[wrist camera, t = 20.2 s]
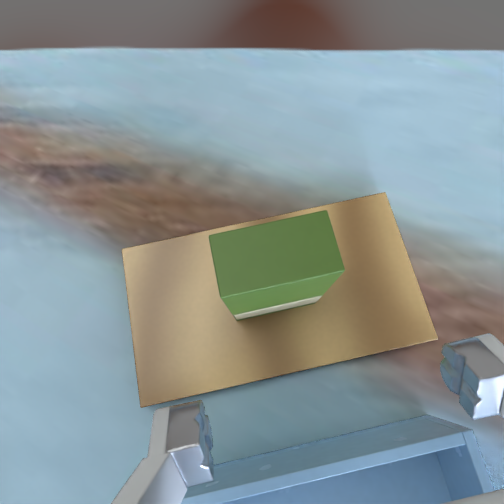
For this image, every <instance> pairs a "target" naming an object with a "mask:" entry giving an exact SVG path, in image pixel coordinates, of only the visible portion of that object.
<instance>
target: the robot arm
mask: <svg viewBox="0 0 504 504" xmlns="http://www.w3.org/2000/svg"><path fill="white" fill-rule="evenodd" d="M441 353H442V354H443V355H444V356H445V358H444V359H443V360H442V361H441V363H440V371H441V375H442V378H443V380H444V382H445V384H446V385H447V387H448V388H449V389H450V391H452V392H454V393H456V394H458V395H460V397H459V403H460V404H461V405H462V407H463V408H464V409H465V410H466V412H467V413H468V414H469V416H470V417H471V418H472V419H473V420H475V419H480V418H485V417H490V416H494V415H499V414H500V417H502V418H504V345H503V344H502V343H501V342H500V341H499V340H498V339H497V338H496V337H495V336H493V335H491V334H484V335H480V336H476V337H470V338H466V339H462V340H458V341H454V342H450V343H446V344H444V345H443V346H442V352H441ZM212 447H213V438H212V430H211V425H210V421H209V418H208V416H207V415H205V407H204V404H203V402H202V400H198V401H193V402H188V403H183V404H179V405H174V406H169V407H165V408H160V409H156V410H155V412H154V414H153V421H152V428H151V435H150V442H149V450H148V457H147V458H143V459H142V461H141V462H140V463H139V465H138V466H137V468H136V469H135V470H134V472H133V473H132V475H131V476H130V477H129V479H128V480H127V482H126V483H125V484H124V486H123V487H122V489H121V490H120V491H119V493H118V494H117V496H116V497H115V498H114V500H113V501H112V503H111V504H181V502H182V500H183V498H184V496H185V493H186V491H187V488H188V487H192V486H195V485H199V484H203V483H207V482H210V481H214V472H213V458H212V455H211V452H210V450H211V448H212ZM442 504H504V489H500V490H496V491H492V492H488V493H484V494H480V495H475V496H471V497H467V498H463V499H459V500H454V501H450V502H446V503H442Z"/></svg>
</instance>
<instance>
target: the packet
mask: <svg viewBox="0 0 504 504" xmlns="http://www.w3.org/2000/svg"><path fill="white" fill-rule="evenodd" d="M209 243H210V248H211V253H212V258H213V263H214V269H215V274H216V279H217V284H218V289H219V295H220V298H221V299H222V301H223V302H224V303H225V305H226V306H227V308H228V309H229V311H230V312H231V314H232V315H233V316H234V318H235V319H236V321H240V320H244V319H249V318H253V317H257V316H262V315H266V314H271V313H275V312H280V311H284V310H289V309H293V308H298V307H302V306H307V305H311V304H315V303H316V302H317V301H318V300H319V299H320V298H321V297H322V296H323V294H324V293H325V292H326V291H327V290H328V289H329V288H330V287H331V286H332V284H333V283H334V282H335V281H336V280H337V279H338V278H339V277H340V276H341V275H342V273H343V272H344V271H345V268H344V264H343V261H342V258H341V254H340V251H339V248H338V244H337V241H336V238H335V234H334V231H333V228H332V225H331V221H330V218H329V215H328V211H327V210H323V211H319V212H314V213H309V214H305V215H300V216H295V217H291V218H286V219H281V220H277V221H272V222H267V223H263V224H258V225H253V226H249V227H244V228H239V229H235V230H230V231H226V232H221V233H216V234H212V235H209Z"/></svg>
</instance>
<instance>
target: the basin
mask: <svg viewBox="0 0 504 504" xmlns="http://www.w3.org/2000/svg"><path fill="white" fill-rule="evenodd" d="M213 472H214V481H210V482H207V483H203V484H199V485H195V486H192V487H188V488H187V491H186V493H185V496H184V498H183V500H182V502H181V504H442V503H446V502H450V501H454V500H459V499H463V498H467V497H471V496H475V495H480V494H484V493H488V492H492V491H495V490H494V488H493V485H492V482H491V479H490V477H489V474H488V471H487V468H486V465H485V463H484V460H483V457H482V454H481V452H480V449H479V446H478V443H477V441H476V438H475V435H474V432H473V430H472V429H469V428H466V427H463V426H460V425H457V424H454V423H451V422H448V421H445V420H442V419H439V418H436V417H433V416H430V415H424V416H420V417H416V418H412V419H407V420H403V421H399V422H395V423H391V424H386V425H382V426H378V427H374V428H369V429H365V430H361V431H357V432H353V433H348V434H344V435H340V436H336V437H332V438H327V439H323V440H319V441H315V442H310V443H306V444H302V445H298V446H294V447H289V448H285V449H281V450H277V451H272V452H268V453H264V454H260V455H256V456H251V457H247V458H243V459H239V460H235V461H230V462H226V463H222V464H218V465H213Z"/></svg>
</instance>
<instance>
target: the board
mask: <svg viewBox="0 0 504 504" xmlns="http://www.w3.org/2000/svg"><path fill="white" fill-rule="evenodd" d="M323 210H327V211H328V215H329V218H330V221H331V225H332V228H333V231H334V234H335V238H336V241H337V244H338V248H339V251H340V254H341V258H342V261H343V264H344V268H345V271H344V272H343V273H342V275H341V276H340V277H339V278H338V279H337V280H336V281H335V282H334V283H333V284H332V286H331V287H330V288H329V289H328V290H327V291H326V292H325V293H324V294H323V296H322V297H321V298H320V299H319V300H318V301H317V302H316V303H315V304H311V305H307V306H302V307H298V308H293V309H289V310H284V311H280V312H275V313H271V314H266V315H262V316H257V317H253V318H249V319H244V320H240V321H236V319H235V318H234V316H233V315H232V314H231V312H230V311H229V309H228V308H227V306H226V305H225V303H224V302H223V301H222V299H221V298H220V295H219V289H218V284H217V279H216V274H215V269H214V263H213V258H212V253H211V248H210V243H209V235H212V234H216V233H221V232H226V231H230V230H235V229H239V228H244V227H249V226H253V225H258V224H263V223H267V222H272V221H277V220H281V219H286V218H291V217H295V216H300V215H305V214H309V213H314V212H319V211H323ZM122 255H123V264H124V272H125V281H126V289H127V297H128V306H129V314H130V323H131V331H132V340H133V348H134V356H135V365H136V373H137V382H138V390H139V399H140V407H141V408H142V407H146V406H151V405H155V404H159V403H164V402H168V401H172V400H177V399H181V398H186V397H190V396H194V395H199V394H203V393H207V392H212V391H216V390H220V389H225V388H229V387H233V386H238V385H242V384H246V383H251V382H255V381H259V380H264V379H268V378H272V377H277V376H281V375H285V374H290V373H294V372H298V371H303V370H307V369H311V368H316V367H320V366H324V365H329V364H333V363H337V362H342V361H346V360H350V359H355V358H359V357H363V356H368V355H372V354H376V353H381V352H385V351H389V350H394V349H398V348H402V347H407V346H411V345H416V344H420V343H424V342H429V341H433V340H437V339H438V337H437V334H436V332H435V329H434V326H433V323H432V321H431V318H430V315H429V312H428V309H427V307H426V304H425V301H424V298H423V296H422V293H421V290H420V287H419V284H418V282H417V279H416V276H415V273H414V271H413V268H412V265H411V262H410V259H409V257H408V254H407V251H406V248H405V246H404V243H403V240H402V237H401V234H400V232H399V229H398V226H397V223H396V221H395V218H394V215H393V212H392V209H391V207H390V204H389V201H388V198H387V196H386V193H385V192H384V193H379V194H374V195H370V196H365V197H360V198H356V199H351V200H346V201H342V202H337V203H333V204H328V205H323V206H319V207H314V208H309V209H305V210H300V211H296V212H291V213H286V214H282V215H277V216H272V217H268V218H263V219H258V220H254V221H249V222H245V223H240V224H235V225H231V226H226V227H221V228H217V229H212V230H207V231H203V232H198V233H194V234H189V235H184V236H180V237H175V238H170V239H166V240H161V241H157V242H152V243H147V244H143V245H138V246H133V247H129V248H124V249H122Z"/></svg>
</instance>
